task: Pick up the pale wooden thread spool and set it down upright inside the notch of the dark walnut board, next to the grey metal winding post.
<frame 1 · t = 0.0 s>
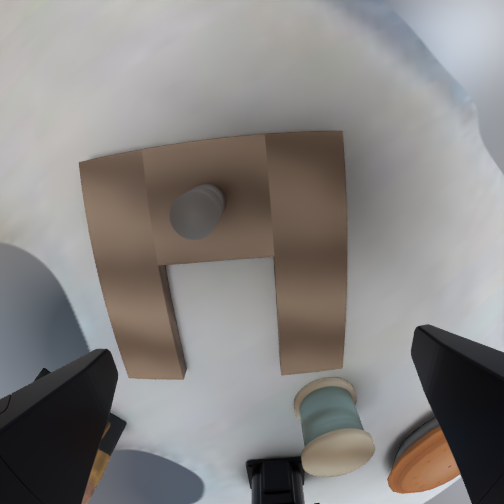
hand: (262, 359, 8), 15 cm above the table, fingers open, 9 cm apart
walnut notched board: (218, 267, 23), on the table
pie: (435, 439, 30), on the table
thread spool: (324, 400, 27), on the table
ammunition clip: (82, 399, 28), on the table
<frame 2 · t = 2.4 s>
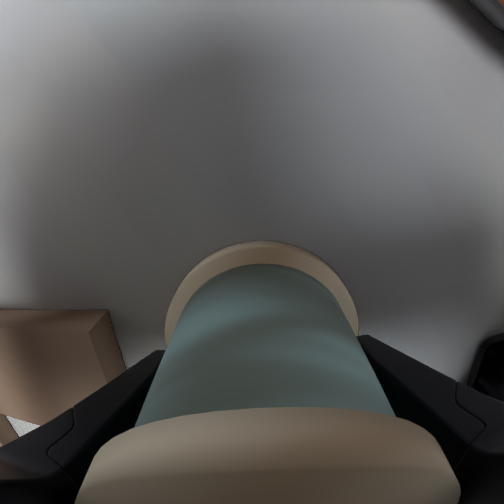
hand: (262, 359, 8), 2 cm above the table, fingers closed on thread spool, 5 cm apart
walnut notched board: (31, 442, 13), on the table
thread spool: (261, 330, 10), on the table, touching gripper
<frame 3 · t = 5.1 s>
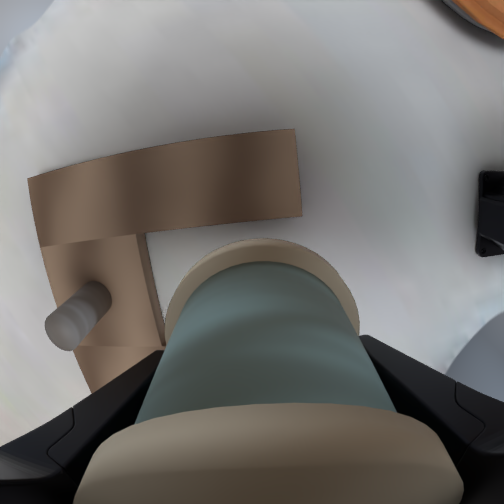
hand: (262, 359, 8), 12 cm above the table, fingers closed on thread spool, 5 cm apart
walnut notched board: (168, 284, 21), on the table
thread spool: (262, 328, 10), point 11 cm above the table, touching gripper
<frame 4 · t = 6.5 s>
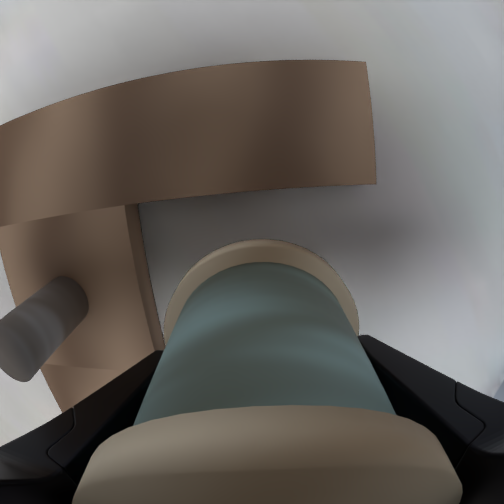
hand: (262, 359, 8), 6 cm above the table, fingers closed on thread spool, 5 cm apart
walnut notched board: (170, 283, 15), on the table
thread spool: (261, 329, 10), point 5 cm above the table, touching gripper
when the fingers open (3 cm above the table, at t = 7.5 s): thread spool drops 2 cm, on the table.
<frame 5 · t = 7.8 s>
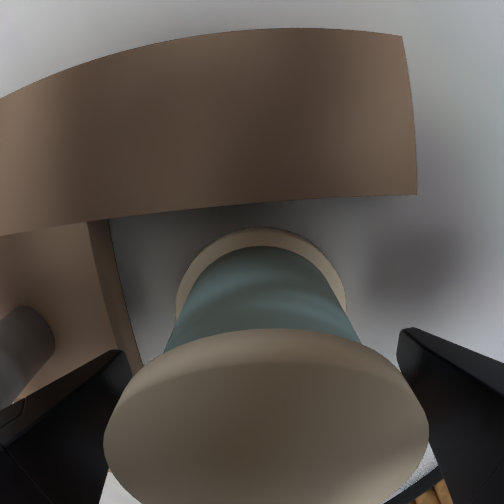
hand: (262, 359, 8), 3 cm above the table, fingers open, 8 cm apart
walnut notched board: (152, 316, 11), on the table
thread spool: (260, 307, 11), on the table
ammunition clip: (410, 488, 16), on the table
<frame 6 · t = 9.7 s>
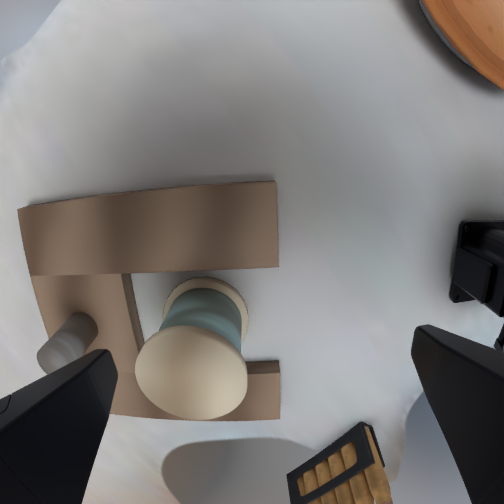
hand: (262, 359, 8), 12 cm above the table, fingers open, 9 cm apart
walnut notched board: (151, 317, 22), on the table
pie: (469, 14, 15), on the table
thread spool: (206, 315, 22), on the table
ammunition clip: (327, 452, 27), on the table
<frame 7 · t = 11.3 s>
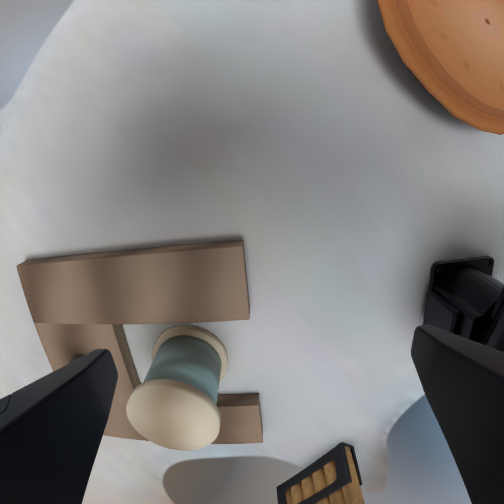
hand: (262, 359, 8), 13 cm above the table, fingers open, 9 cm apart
walnut notched board: (142, 358, 24), on the table
pie: (449, 39, 16), on the table
thread spool: (190, 356, 24), on the table
ammunition clip: (312, 468, 28), on the table
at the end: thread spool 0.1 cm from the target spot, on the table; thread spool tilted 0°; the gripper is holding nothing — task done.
